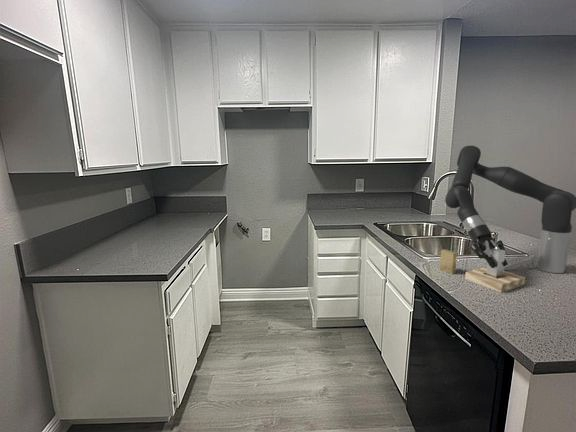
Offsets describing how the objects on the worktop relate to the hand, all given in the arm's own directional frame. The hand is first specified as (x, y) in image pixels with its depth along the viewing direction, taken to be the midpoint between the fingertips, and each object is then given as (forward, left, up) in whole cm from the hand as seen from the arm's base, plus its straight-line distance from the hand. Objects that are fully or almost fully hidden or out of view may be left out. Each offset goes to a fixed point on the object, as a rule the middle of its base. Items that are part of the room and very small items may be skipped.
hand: (499, 266), depth 117 cm
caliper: (-20, -6, -8) cm, 22 cm away
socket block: (0, -2, -7) cm, 7 cm away
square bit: (0, -2, -5) cm, 6 cm away
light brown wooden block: (+6, -18, -7) cm, 20 cm away
